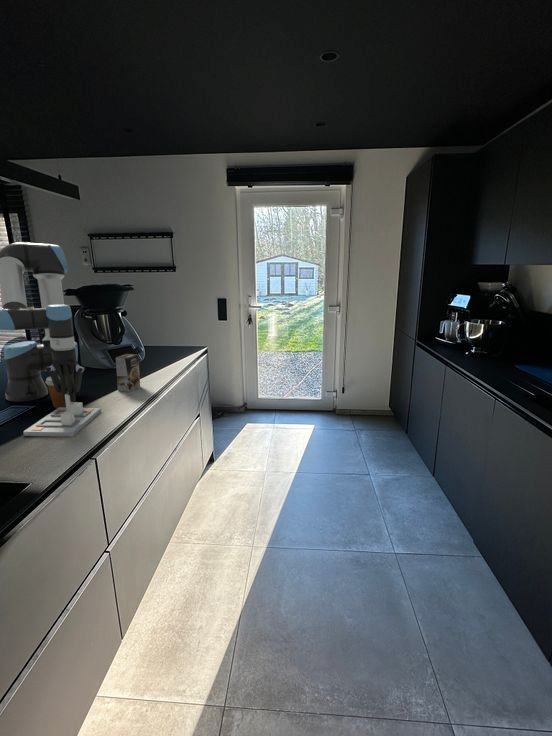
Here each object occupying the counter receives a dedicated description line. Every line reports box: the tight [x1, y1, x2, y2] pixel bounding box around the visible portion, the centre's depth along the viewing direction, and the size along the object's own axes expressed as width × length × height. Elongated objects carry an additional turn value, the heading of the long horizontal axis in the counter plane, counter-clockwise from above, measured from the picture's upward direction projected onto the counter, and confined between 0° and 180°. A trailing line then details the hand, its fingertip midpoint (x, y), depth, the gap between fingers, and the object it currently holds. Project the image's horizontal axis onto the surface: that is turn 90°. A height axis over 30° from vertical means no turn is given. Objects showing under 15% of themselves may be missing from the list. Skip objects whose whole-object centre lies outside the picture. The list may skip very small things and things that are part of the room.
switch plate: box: [22, 407, 102, 438], centre depth 130 cm, size 16×22×2 cm
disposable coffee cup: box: [45, 375, 69, 409], centre depth 144 cm, size 10×10×12 cm
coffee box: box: [115, 353, 141, 393], centre depth 167 cm, size 9×6×16 cm
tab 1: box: [61, 411, 75, 425], centre depth 125 cm, size 3×3×4 cm
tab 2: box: [70, 401, 84, 415], centre depth 134 cm, size 3×3×4 cm
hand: (70, 409), depth 133 cm, fingers closed
